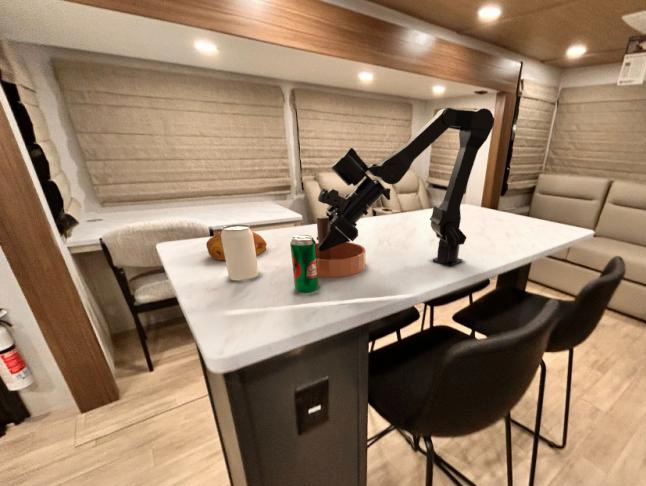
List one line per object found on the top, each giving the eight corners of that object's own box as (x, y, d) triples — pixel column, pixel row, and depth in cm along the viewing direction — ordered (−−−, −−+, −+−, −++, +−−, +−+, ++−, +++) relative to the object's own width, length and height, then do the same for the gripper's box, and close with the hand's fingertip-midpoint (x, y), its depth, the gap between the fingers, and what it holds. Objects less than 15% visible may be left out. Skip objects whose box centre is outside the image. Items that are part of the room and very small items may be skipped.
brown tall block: (333, 264, 82) (331, 215, 77) (335, 268, 80) (332, 218, 74) (316, 265, 81) (313, 215, 76) (317, 269, 78) (313, 218, 73)
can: (265, 274, 76) (257, 225, 71) (244, 283, 70) (235, 231, 65) (244, 270, 78) (235, 222, 73) (222, 279, 72) (212, 228, 67)
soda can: (312, 296, 65) (308, 241, 61) (290, 293, 66) (284, 239, 61) (322, 287, 70) (319, 235, 65) (302, 284, 71) (297, 233, 66)
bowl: (338, 254, 92) (338, 238, 90) (377, 268, 82) (378, 250, 80) (289, 267, 80) (287, 249, 78) (328, 285, 71) (327, 265, 69)
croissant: (200, 265, 85) (190, 238, 81) (238, 243, 98) (230, 219, 94) (246, 270, 82) (237, 242, 78) (278, 246, 95) (272, 221, 91)
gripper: (333, 172, 81) (293, 215, 82) (341, 178, 64) (291, 232, 66) (363, 202, 86) (325, 242, 87) (378, 216, 69) (330, 265, 71)
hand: (318, 244), depth 78 cm, fingers open, 9 cm apart
